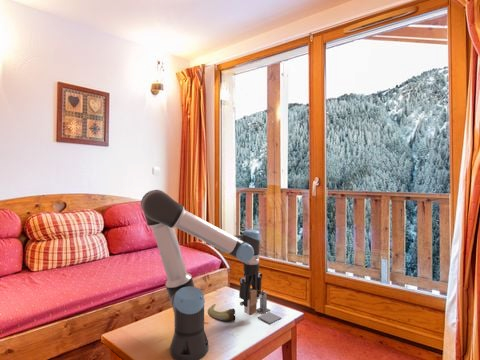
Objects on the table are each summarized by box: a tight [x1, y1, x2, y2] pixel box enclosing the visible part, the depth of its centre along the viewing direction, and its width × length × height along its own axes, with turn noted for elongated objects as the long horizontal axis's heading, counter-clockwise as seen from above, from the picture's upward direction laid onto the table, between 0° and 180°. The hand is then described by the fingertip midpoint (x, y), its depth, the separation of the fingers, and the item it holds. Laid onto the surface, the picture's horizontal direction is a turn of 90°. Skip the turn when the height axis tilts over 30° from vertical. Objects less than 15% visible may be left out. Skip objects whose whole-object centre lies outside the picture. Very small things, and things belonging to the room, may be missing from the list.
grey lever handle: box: [239, 289, 271, 315], centre depth 148 cm, size 18×5×10 cm, turn 132°
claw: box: [207, 303, 236, 322], centre depth 148 cm, size 20×10×3 cm, turn 49°
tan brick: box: [238, 287, 258, 316], centre depth 143 cm, size 8×4×11 cm, turn 43°
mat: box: [257, 311, 282, 325], centre depth 144 cm, size 8×8×1 cm
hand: (250, 311), depth 142 cm, fingers closed on tan brick, 4 cm apart
